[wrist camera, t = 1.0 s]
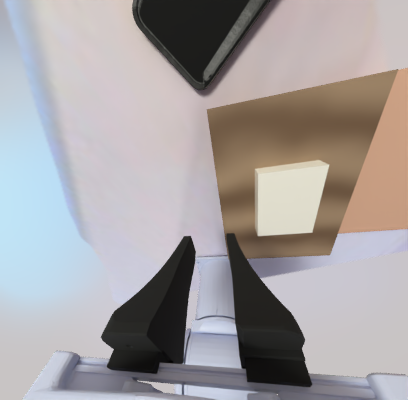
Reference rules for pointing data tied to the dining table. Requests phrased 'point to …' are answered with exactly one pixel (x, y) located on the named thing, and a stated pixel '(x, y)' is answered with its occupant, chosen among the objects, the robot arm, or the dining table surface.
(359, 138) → the butcher block
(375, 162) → the mat
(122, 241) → the dining table surface
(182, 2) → the phone
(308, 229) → the tile
